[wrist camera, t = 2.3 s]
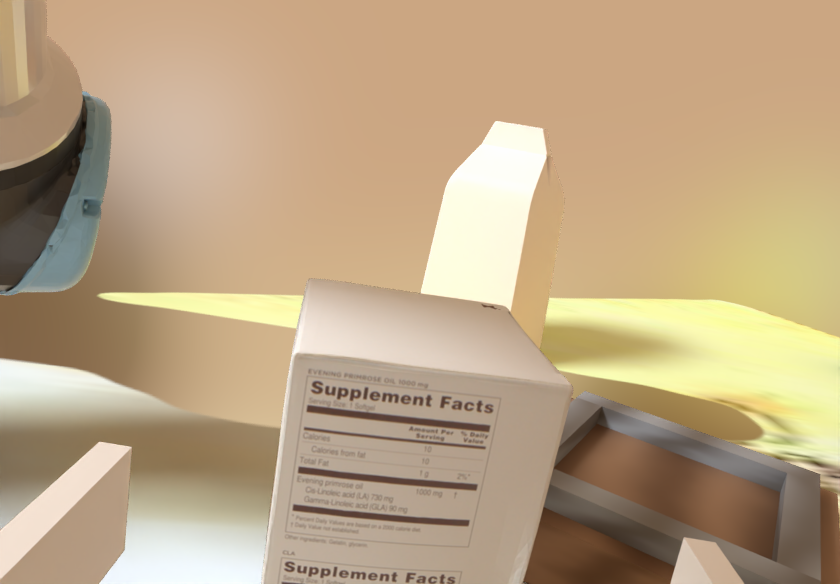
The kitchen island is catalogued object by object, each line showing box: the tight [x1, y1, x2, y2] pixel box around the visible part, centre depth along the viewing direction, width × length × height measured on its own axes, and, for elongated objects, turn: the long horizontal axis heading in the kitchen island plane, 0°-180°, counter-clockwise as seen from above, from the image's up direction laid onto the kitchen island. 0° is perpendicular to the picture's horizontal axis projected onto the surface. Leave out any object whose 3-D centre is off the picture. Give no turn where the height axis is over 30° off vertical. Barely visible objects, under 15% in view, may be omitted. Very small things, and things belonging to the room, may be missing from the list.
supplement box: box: [261, 278, 573, 584], centre depth 27 cm, size 10×9×17 cm
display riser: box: [524, 391, 840, 584], centre depth 43 cm, size 20×20×6 cm
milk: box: [421, 121, 565, 349], centre depth 77 cm, size 12×12×26 cm
